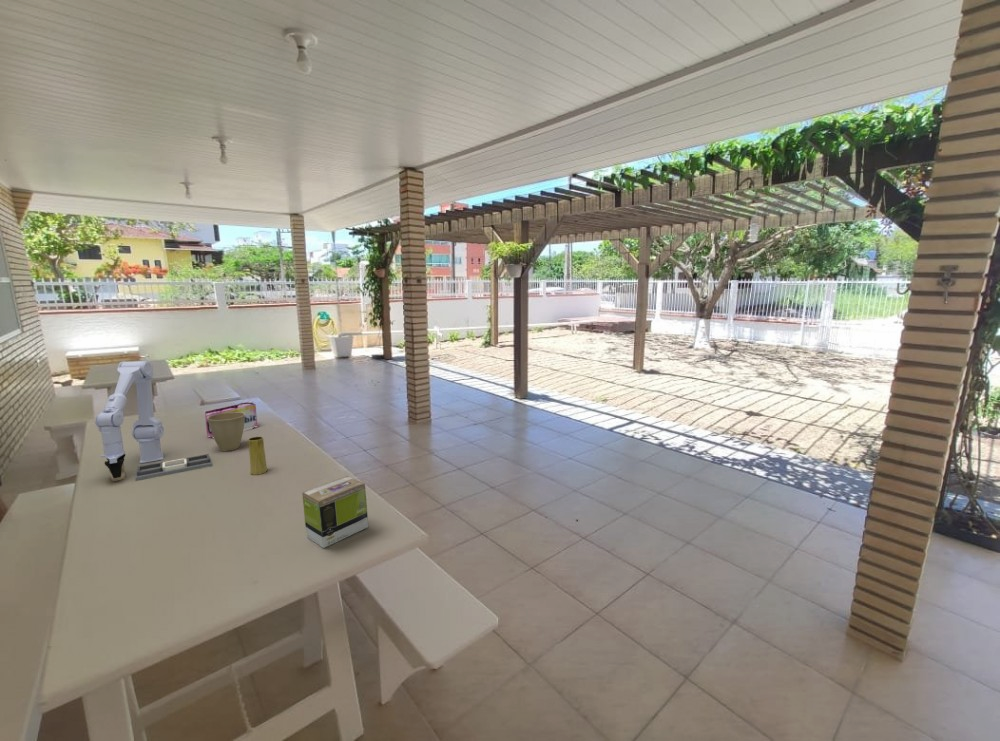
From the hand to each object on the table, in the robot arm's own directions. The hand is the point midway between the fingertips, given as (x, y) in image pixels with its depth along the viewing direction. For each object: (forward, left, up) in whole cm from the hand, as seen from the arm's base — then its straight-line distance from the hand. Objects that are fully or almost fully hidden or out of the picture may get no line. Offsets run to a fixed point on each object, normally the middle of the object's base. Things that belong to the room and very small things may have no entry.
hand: (117, 475), depth 170 cm
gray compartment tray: (+1, +18, -1) cm, 18 cm away
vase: (+26, +45, -2) cm, 52 cm away
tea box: (+93, +56, -2) cm, 109 cm away
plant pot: (-14, +39, -2) cm, 41 cm away
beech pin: (0, 0, -1) cm, 1 cm away
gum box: (-43, +43, -2) cm, 61 cm away
